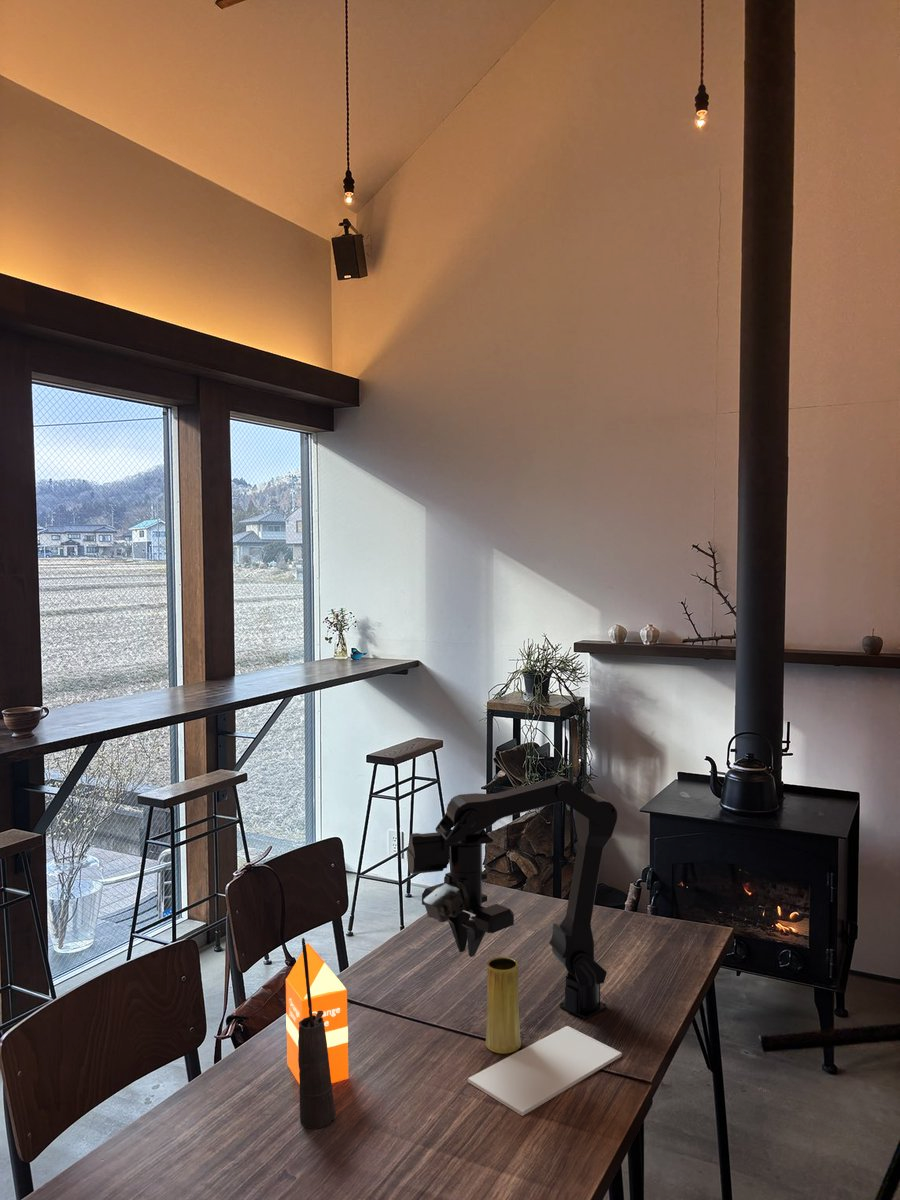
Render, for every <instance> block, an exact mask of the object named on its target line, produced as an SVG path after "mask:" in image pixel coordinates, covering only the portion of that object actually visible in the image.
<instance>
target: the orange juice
mask: <svg viewBox="0 0 900 1200" xmlns="http://www.w3.org/2000/svg"><path fill="white" fill-rule="evenodd" d="M305 944H306V950H307V959H308V970H309V983H310V993H311V1002H312V1014H313V1016H314V1015H315V1016H316V1015H317V1012H318V1011H323V1012H324V1013H323V1016H322V1017H321V1018H323V1021H324V1027H325V1033H326V1041H327V1049H328V1054H329V1065H330V1075H331V1083H332V1084H334V1083H338V1082H342V1081H344V1080H348V1079H349V1046H348V1045H349V1044H348V1043H349V1026H348V990H347V988H346V987H345V986H344V984H343V983H342V981H340V979H339V978H338V977H337V976H336V974H335V972H333V971H332V969H331V968H330V967H329V965H328V964H326V962H325V961H324V960H323V958H322V957H321V956H320V955H319V954H318V952H317V951H316V950H315V949H314V948H313V947H312V946H311V945H310V943H309V942H306V943H305ZM285 1004H286V1005H285V1007H286V1009H285V1010H286V1011H285V1012H286V1013H285V1021H286V1024H285V1025H286V1061H287V1063H286V1065H287V1066H288V1068H289V1070H290V1071H291V1073H292V1075H293V1076H294V1078H295V1080H296V1081H297V1083H298V1084H299V1085H300V1080H299V1065H298V1052H299V1051H298V1049H299V1048H298V1038H299V1034H298V1032H299V1021H301V1020H302V1019H303V1018H307V1017H309V1007H308V999H307V988H306V978H305V968H304V958H303V950H302V951H301V952H300V954H299V956H298V958H297V960H296V962H295V963H294V965H293V966H292V968H291V970H290V972H289V974H288V975H287V977H286V978H285Z"/></svg>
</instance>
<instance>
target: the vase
mask: <svg viewBox="0 0 900 1200" xmlns="http://www.w3.org/2000/svg"><path fill="white" fill-rule="evenodd" d="M486 963H487V965H486V966H487V967H486V970H487V977H486V978H487V983H486V984H487V993H486V997H487V998H486V1005H487V1006H486V1037H485V1046H486V1048H487V1049H488V1050H489V1051H490V1052H493V1053H496V1054H502V1055H507V1054H512V1053H516V1052H518V1050H519V1049H520V1048H521V1046H522V1041H521V1029H520V1026H521V1025H520V1015H519V1014H520V1011H519V1010H520V1009H519V964H518V962H517V960H516V959H514V958H511V957H508V956H499V957H497V956H496V957H493V958H491V959H489V960H488V962H486Z"/></svg>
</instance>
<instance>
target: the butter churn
mask: <svg viewBox="0 0 900 1200" xmlns="http://www.w3.org/2000/svg"><path fill="white" fill-rule="evenodd" d="M306 944H307V943H306V939H305V938H304V937H302V939H301V945H302V947H301V948H302V949H301V950H302V951H303V958H304V968H305V978H306V988H307V999H308V1007H309V1017H307V1018H303V1019H302V1020H301V1021H299V1032H298V1034H299V1038H298V1048H299V1049H298V1051H299V1052H298V1065H299V1080H300V1084H299V1091H298V1093H299V1122H300V1123H301V1125H302V1126H303V1127H304V1128H308V1129H311V1130H316V1129H317V1130H318V1129H320V1128H321V1129H322V1128H324V1127H327V1126H329V1125H331V1122H332V1121H333V1120H335V1119H336V1107H335V1101H334V1093H333V1083H331V1075H330V1065H329V1054H328V1049H327V1041H326V1033H325V1027H324V1021H323V1018H321V1017H322V1016H323V1013H324V1012H323V1011H318V1012H317V1015H316V1016H315V1015H314V1016H313V1014H312V1002H311V993H310V983H309V970H308V959H307V950H306Z"/></svg>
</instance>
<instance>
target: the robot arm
mask: <svg viewBox="0 0 900 1200" xmlns="http://www.w3.org/2000/svg"><path fill="white" fill-rule="evenodd" d="M558 803H563V804H565V805H566V806H568V807H570V808H571V809H573V810H574V826H575V833H576V837H577V847H576V851H575V852H576V854H575V858H574V859H575V860H574V864H573V865H574V867H573V869H572V870H573V871H572V878H571V884H570V891H569V895H568V903H567V908H566V915H565V917H564V919H562V922H560V924H558V923H553V924H552V934H551V939H550V940H549V945H550V946H551V951H552V954H553V956H554V957H555V959H556V960H557V961H558V962H559V964H561V966H562V967H563V969H565V970H566V971H567V973H566V974H567V975H566V976H565V986H564V1001H562V1002H559V1004H558V1005H559V1008H561V1009H563V1010H566V1011H567V1012H570V1013H571V1014H574V1015H576V1016H577V1017H580V1018H581V1019H585V1020H586V1019H589V1018H590V1017H593V1016H594V1015H596V1014H598V1013H600V1012H601V1011H604V1010H605V1009H608V1005H607V1004H606V1003H604V1002H602V1001H601V984H602V985H603V984H604V982H605V980H606V976H607V970H606V969H604V967H603V966H601V964H599V962H597V960H595V940H594V936H593V931H592V930H593V929H592V919H593V912H594V906H595V899H596V893H597V887H598V881H599V876H600V870H601V865H602V864H601V863H602V858H603V852H604V848H605V847H606V846H607V843H608V842H609V841H610V839H611V838H612V836H613V835H614V831H615V828H616V825H617V822H618V814H619V813H618V811H617V808H616V807H615V805H613V804H612V802H610V801H608V800H606V799H604V798H602V797H601V796H599V795H597V794H595V793H585V792H584V791H582V790H581V789H579V788H577V786H575V785H574V784H573V783H572V782H571V781H570V780H568V779H567V778H565V777H563V776H559V775H557V776H553V777H551V778H549V779H545V780H543V781H538V782H534V783H531V784H525V785H522V786H519V787H515V788H511V789H507V790H503V791H500V792H496V793H464V794H463V793H461V794H457V795H455V796H453V797H452V798H451V799H450V800H449V802H448V804H447V807H446V813H445V814H444V815H443V817H442V818H441V819H440V821H439V823H438V824H437V826H436V827H435V831H436V832H429V833H428V832H427V833H418V832H414V833H413V832H412V833H410V835H409V841H408V845H407V849H406V857H407V858H406V859H407V865H408V870H409V874H411V875H418V874H425V873H435V872H436V873H437V872H443V871H444V869H447V868H448V865H449V870H450V871H449V872H447V873H445V874H444V875H445V876H444V878H443V882H441V883H438V884H435V885H432V886H428V887H427V888H424V890H423V892H422V893H421V905H423V906H424V907H425V911H426V913H427V916H428V917H429V918H430V919H431V918H432V919H435V920H437V921H438V922H440V923H446V922H447V923H448V924H449V927H450V929H451V931H452V932H451V933H452V934H453V939H454V940H455V943H456V946H457V949H458V952H460V953H463V952H465V951H466V949H467V950H468V951H467V952H468V956H469V958H473V957H474V956H476V954H477V951H478V950H479V947H480V945H481V943H482V940H483V938H484V937H485V934H486V933H488V934H494V933H497V932H500V931H502V930H504V929H507V928H509V927H511V926H514V925H515V917H514V916H515V913H514V911H513V910H511V908H509V907H506V906H504V905H501V904H498V903H494V904H492V905H489V906H487V905H483V903H486V902H488V895H487V894H484V893H483V880H486V879H488V873H487V872H486V871H483V862H482V861H483V846H482V845H484V844H493V842H494V839H493V837H492V836H490V835H489V834H488V833H487V831H486V829H488V828H490V827H492V826H493V825H494V824H495V823H496V822H498V821H499V820H502V819H503V818H508V817H511V816H514V815H518V814H521V813H524V812H528V811H529V812H530V811H533V810H536V809H540V808H544V807H548V806H552V805H555V804H558ZM466 947H467V948H466Z"/></svg>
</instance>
